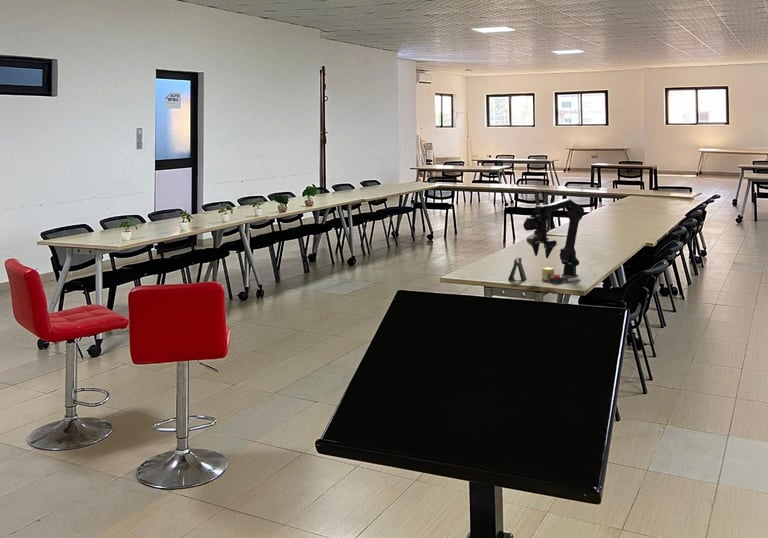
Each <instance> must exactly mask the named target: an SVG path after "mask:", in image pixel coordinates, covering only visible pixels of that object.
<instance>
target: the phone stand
mask: <svg viewBox="0 0 768 538" xmlns="http://www.w3.org/2000/svg"><path fill="white" fill-rule="evenodd" d="M522 260H523V259H522V257H516V258H515V259H514V260H513V266H512V269H511V271H510V274H509V276H508V280H507V281H513V282H525V281H527V275H526V273H525V270H524V266H523V264H522ZM517 268H518V273H519V276H520V277H515V274H516V271H517Z"/></svg>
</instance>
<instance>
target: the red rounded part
mask: <svg viewBox="0 0 768 538" xmlns="http://www.w3.org/2000/svg"><path fill="white" fill-rule="evenodd" d="M560 276H561V274H559V273H554V274H553V278H560Z"/></svg>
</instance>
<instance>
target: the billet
mask: <svg viewBox="0 0 768 538" xmlns="http://www.w3.org/2000/svg"><path fill="white" fill-rule="evenodd" d="M553 274H555V268H551V267H542V269H541V280H545V281H548V280H549V277H552V276H553Z"/></svg>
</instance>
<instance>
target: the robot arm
mask: <svg viewBox="0 0 768 538" xmlns="http://www.w3.org/2000/svg"><path fill="white" fill-rule="evenodd" d="M562 209H565V211H567V217H568V220H569V222H568V229H567V232H566V233H567V234H566V240H565V245H564V247H563V248H560V250H559V251H560V253H559V260H560V261H561V264H562V265H563V269H562V270H563V272H562V273H561V276H565V275H571V276H576V277H579V275H578V274H577V266H579V265H580V260H579V259H578V258H577V252H576V249H575V244H576V238H577V233H578V229H579V222H580V221H581V220H582V218H583V216H584V213H585V208H584V207H583V206H582V205H580V204H578V203H576V202H575V201H573V200H572V199H570V198H563V199H562V200H559V201H555V202H551V203H549V204H537V205H535V207H534V210H533V211H532V213H531V215H530V217H526V218H525V221H524V222H523V228H524V230H525V231H526V232H528V231H533V234H530V235H529V236H527V237H526V243H528V245H530V247H531V248H532V251H533V253H534V256H535V257H537V256H538V254H539V250H540V244H543V248H544V251H545V258H546V259H548V258H549V257H550V255H551V253H552V251H553V249H554V248H555V247H556V246H557V245H558V243H557V242H558V241H557V240H555V239H549V237H548V233H549V230H548V221H549V220H551V218H550V217H549V215H551V214H552V212H555V211H558V210H562Z"/></svg>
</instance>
